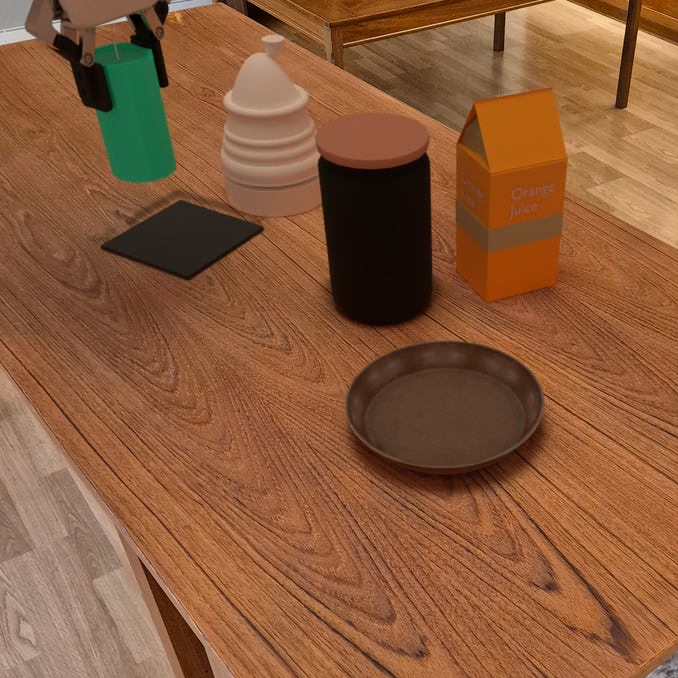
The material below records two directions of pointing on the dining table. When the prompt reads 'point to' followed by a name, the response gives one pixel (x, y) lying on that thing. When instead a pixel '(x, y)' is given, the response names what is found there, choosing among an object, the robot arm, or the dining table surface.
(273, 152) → the honey pot
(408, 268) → the coffee jar
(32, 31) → the robot arm
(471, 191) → the orange juice
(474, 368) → the plant saucer
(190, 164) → the dining table surface
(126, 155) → the candle
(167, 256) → the mat
